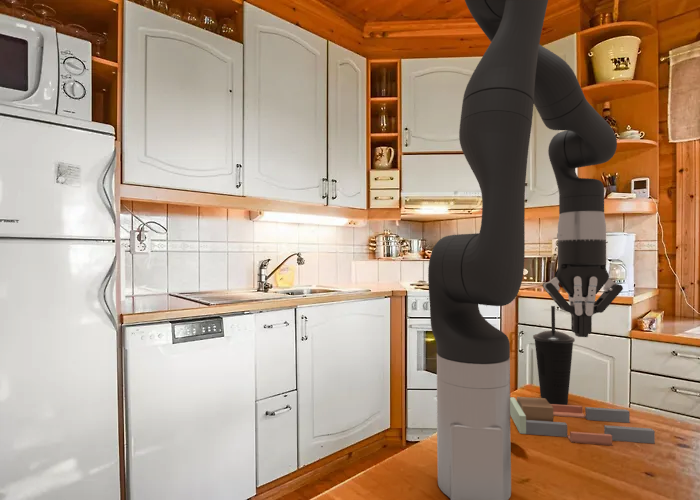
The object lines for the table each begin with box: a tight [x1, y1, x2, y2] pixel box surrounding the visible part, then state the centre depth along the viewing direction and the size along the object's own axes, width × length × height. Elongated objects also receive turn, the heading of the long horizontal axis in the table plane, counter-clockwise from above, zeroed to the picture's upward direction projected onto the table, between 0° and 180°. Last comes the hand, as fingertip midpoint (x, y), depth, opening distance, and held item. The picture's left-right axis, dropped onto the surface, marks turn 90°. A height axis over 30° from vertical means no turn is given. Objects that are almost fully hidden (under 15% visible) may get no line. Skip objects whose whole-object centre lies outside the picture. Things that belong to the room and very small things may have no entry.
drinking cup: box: [532, 305, 576, 405], centre depth 84 cm, size 8×8×20 cm
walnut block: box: [516, 396, 554, 422], centre depth 74 cm, size 5×5×4 cm
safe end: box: [510, 396, 527, 435], centre depth 74 cm, size 9×1×3 cm, turn 169°
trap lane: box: [525, 404, 656, 446], centre depth 72 cm, size 13×20×2 cm
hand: (581, 336), depth 72 cm, fingers closed
